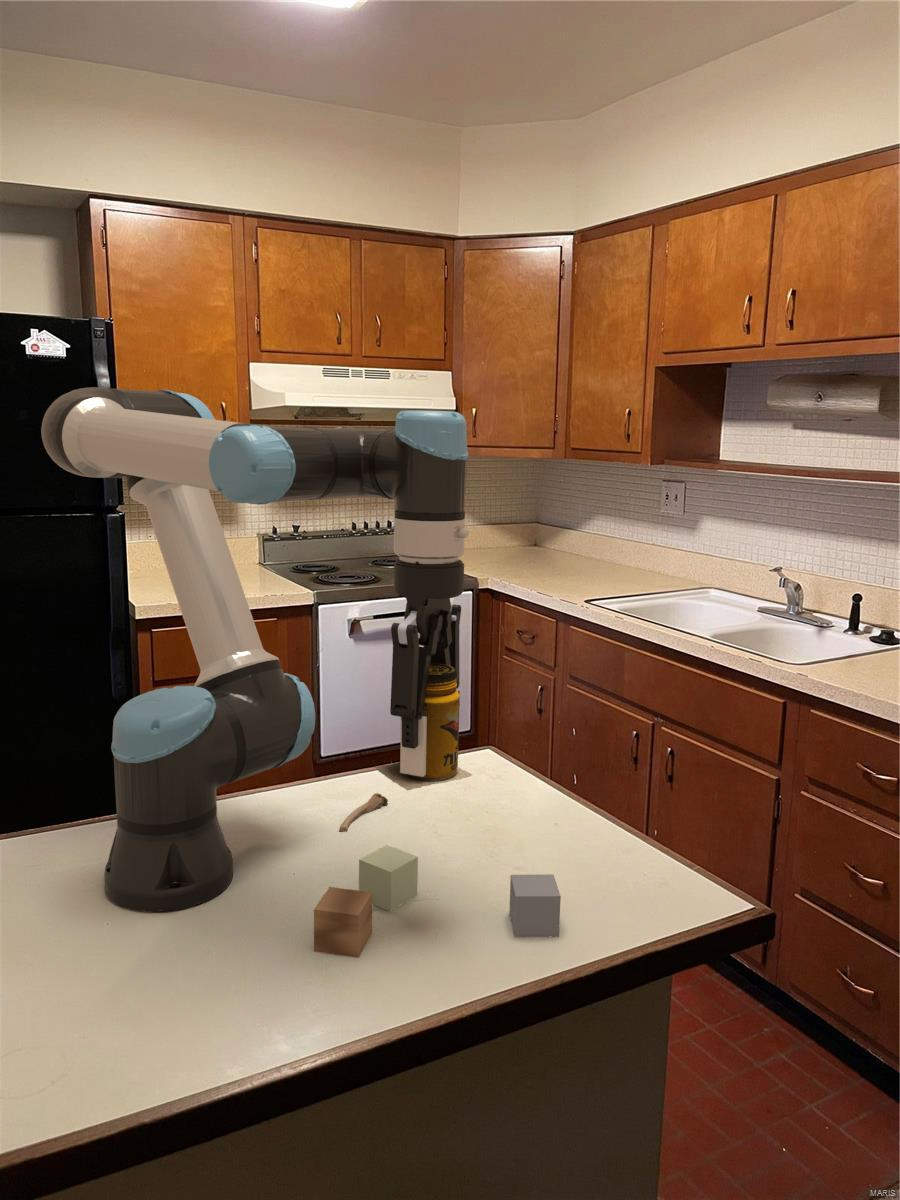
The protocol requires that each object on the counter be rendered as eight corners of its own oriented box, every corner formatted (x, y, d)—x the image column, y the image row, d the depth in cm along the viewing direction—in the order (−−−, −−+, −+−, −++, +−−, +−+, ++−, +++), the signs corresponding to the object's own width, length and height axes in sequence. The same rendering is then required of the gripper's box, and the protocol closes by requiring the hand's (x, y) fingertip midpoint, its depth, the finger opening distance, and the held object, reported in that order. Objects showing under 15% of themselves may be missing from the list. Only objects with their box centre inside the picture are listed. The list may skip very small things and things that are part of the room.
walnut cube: (314, 952, 97) (313, 909, 96) (329, 927, 102) (329, 886, 101) (358, 958, 96) (358, 915, 95) (372, 933, 101) (372, 892, 100)
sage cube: (358, 898, 109) (359, 859, 108) (386, 882, 112) (386, 844, 112) (390, 911, 106) (391, 872, 105) (417, 895, 110) (418, 856, 109)
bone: (329, 831, 127) (329, 817, 127) (374, 803, 137) (374, 790, 136) (344, 835, 126) (344, 821, 125) (388, 807, 135) (389, 794, 135)
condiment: (473, 776, 100) (476, 671, 97) (407, 792, 95) (409, 681, 93) (437, 756, 106) (439, 657, 103) (373, 769, 101) (374, 665, 99)
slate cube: (514, 937, 101) (515, 896, 100) (509, 914, 106) (510, 874, 105) (558, 937, 101) (560, 896, 100) (551, 913, 106) (553, 874, 105)
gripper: (425, 572, 86) (421, 800, 91) (492, 550, 104) (486, 742, 108) (355, 566, 89) (355, 787, 93) (432, 546, 106) (429, 733, 111)
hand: (425, 763), depth 101 cm, fingers closed on condiment, 6 cm apart
